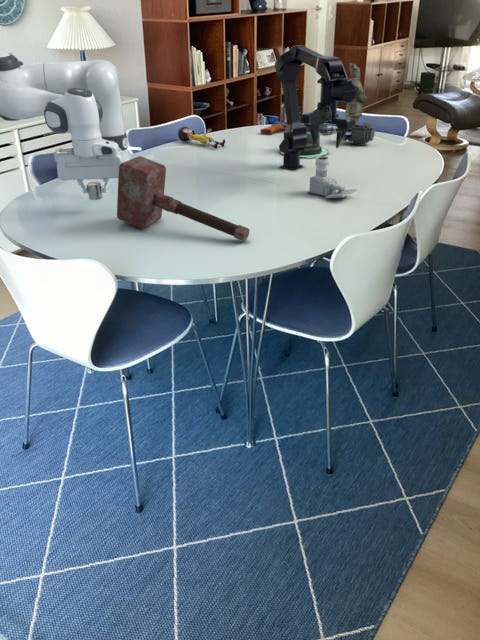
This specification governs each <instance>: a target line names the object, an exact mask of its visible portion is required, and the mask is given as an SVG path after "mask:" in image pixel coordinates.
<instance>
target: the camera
mask: <svg viewBox="0 0 480 640" xmlns="http://www.w3.org/2000/svg"><path fill="white" fill-rule="evenodd" d="M329 165H330V157H329V156H326V155H322V156H317V157H315V175H313V176H311V177H309V191H308V192H309V193H311V194H313V195H318V196H321V197H325V199H338V198H345V197H347V196H349V195H351V194H354V193H356V192H358V191H359V190H358V189H357V188H353V189H346V186H345V185H342V184H338V181H337V179H335V178H330V177H328V167H329Z"/></svg>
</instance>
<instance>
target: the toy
mask: <svg viewBox="0 0 480 640" xmlns="http://www.w3.org/2000/svg"><path fill="white" fill-rule="evenodd" d="M357 124H358V123H357ZM357 124H355V126H354V127H351V129H348V131H347V133H346V134H345V136H344V138H343V140H342V142H346V141H348V142H349V143H352V145H358V146H359V145H360V146H366V144H367V143H369V142H373V140H374V138H375V133H376V129H375V127H374V126H372V123H370V122H363V124H358V125H357Z"/></svg>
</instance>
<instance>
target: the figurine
mask: <svg viewBox="0 0 480 640" xmlns="http://www.w3.org/2000/svg"><path fill="white" fill-rule="evenodd" d="M210 132H212V128H209V129H207V130H206V132H205V133H204V134H202V135H201V134H198V133H195V130H193V129H191V128H189V127H188V126H182V127H180V128H179V129H178V132H177V137H178V139H179V141H182V142H191V141H192V140H194V141H198V142H200V143H201V144H203V145H204V146H210V147H212V148H214V149H215V150H216V149H218V145H219V146H221V147H225V144H226V139H222V141H218V140H216V139H215V138H213V137H212V136H207V135H208V134H209V133H210Z"/></svg>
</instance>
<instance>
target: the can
mask: <svg viewBox="0 0 480 640" xmlns="http://www.w3.org/2000/svg"><path fill="white" fill-rule="evenodd" d="M86 186H87V189H88V193H87V195H88V199H89V200H91V201H98V200H102V199H103V193H101V188H100V187H101V186H102V185H101V182H100V181H89V182H87V183H86Z"/></svg>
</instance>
